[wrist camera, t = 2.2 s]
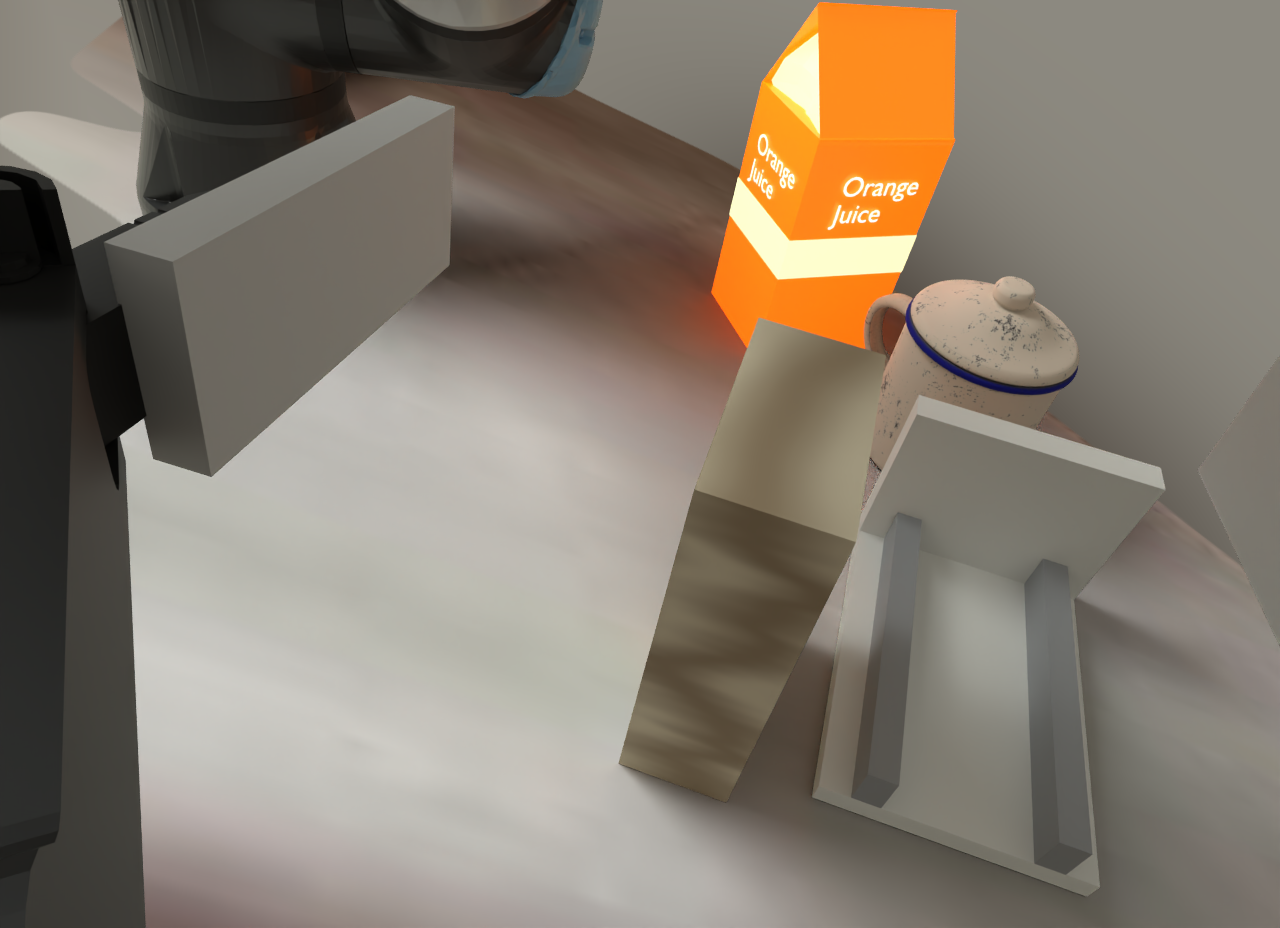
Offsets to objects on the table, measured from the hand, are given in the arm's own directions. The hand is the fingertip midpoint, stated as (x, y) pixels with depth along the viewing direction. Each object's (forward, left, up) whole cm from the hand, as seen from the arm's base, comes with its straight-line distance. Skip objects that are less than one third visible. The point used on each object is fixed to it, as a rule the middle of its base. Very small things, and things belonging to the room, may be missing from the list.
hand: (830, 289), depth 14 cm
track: (-6, +17, -25) cm, 31 cm away
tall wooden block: (-7, +5, -25) cm, 27 cm away
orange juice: (-34, +19, -26) cm, 47 cm away
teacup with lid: (-22, +23, -26) cm, 41 cm away
